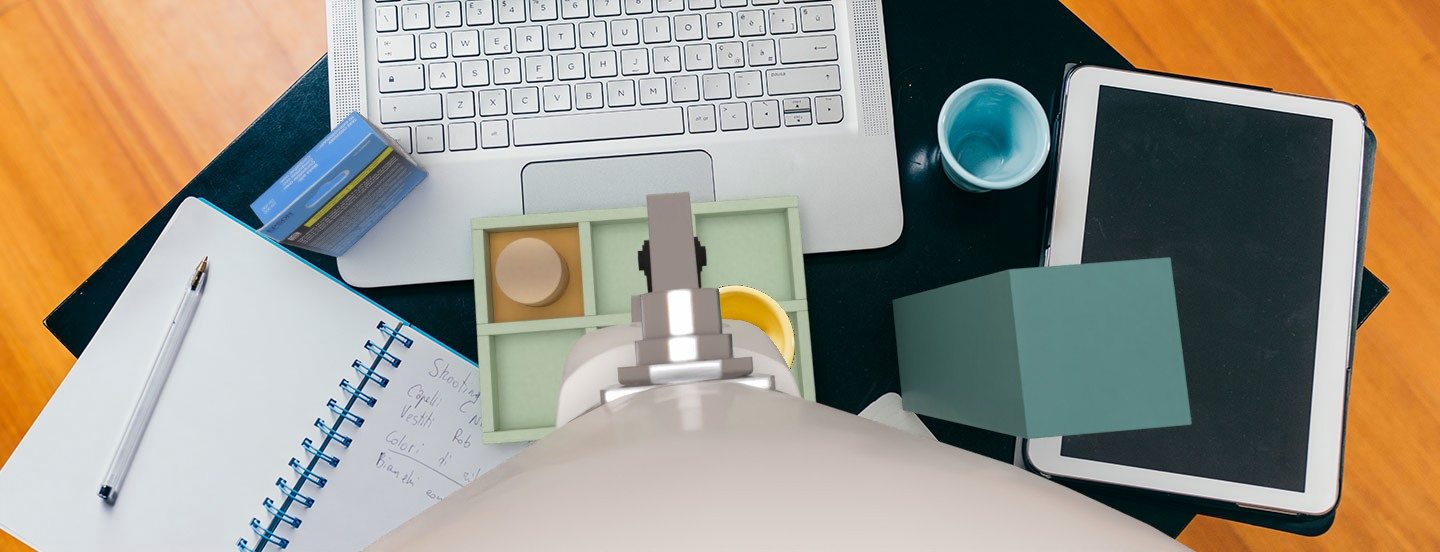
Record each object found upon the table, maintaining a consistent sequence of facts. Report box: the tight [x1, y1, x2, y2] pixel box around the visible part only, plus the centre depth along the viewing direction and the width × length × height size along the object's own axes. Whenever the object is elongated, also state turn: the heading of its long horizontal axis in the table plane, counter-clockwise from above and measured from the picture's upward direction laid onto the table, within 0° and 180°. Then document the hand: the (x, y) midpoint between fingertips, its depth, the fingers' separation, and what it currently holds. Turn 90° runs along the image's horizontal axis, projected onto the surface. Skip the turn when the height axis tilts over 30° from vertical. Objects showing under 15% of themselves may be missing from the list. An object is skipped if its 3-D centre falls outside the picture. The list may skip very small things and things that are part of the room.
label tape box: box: [249, 110, 429, 258], centre depth 55 cm, size 9×4×12 cm, turn 135°
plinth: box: [892, 256, 1193, 440], centre depth 52 cm, size 8×8×22 cm
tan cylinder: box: [495, 238, 569, 307], centre depth 59 cm, size 4×4×4 cm
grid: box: [470, 195, 817, 445], centre depth 60 cm, size 15×23×3 cm
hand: (687, 470), depth 31 cm, fingers open, 9 cm apart
